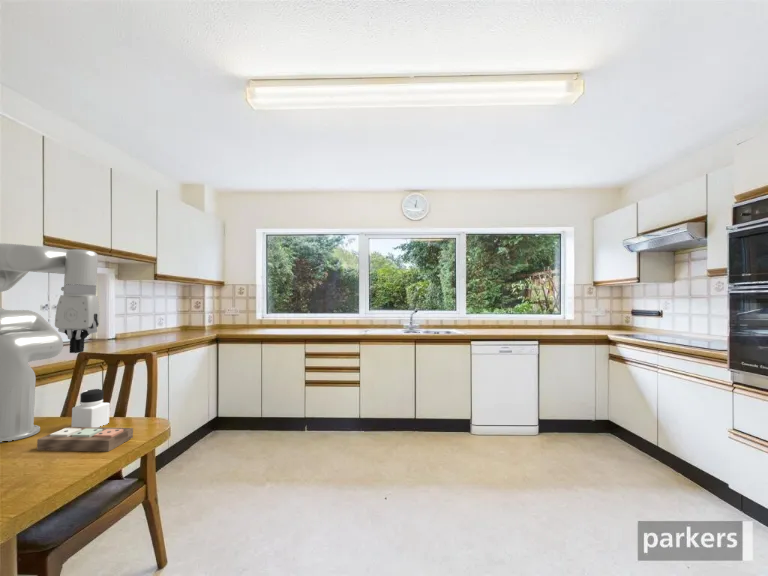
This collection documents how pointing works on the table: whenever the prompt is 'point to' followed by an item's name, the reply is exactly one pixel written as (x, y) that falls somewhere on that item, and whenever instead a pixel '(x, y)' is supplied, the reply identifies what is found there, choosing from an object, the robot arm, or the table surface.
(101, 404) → the medicine bottle
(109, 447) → the button board
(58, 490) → the table surface
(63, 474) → the table surface
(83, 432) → the button two sage
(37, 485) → the table surface
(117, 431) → the button three terracotta
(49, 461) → the table surface
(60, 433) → the button one cream
